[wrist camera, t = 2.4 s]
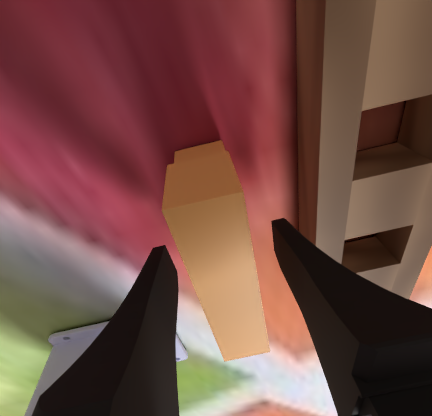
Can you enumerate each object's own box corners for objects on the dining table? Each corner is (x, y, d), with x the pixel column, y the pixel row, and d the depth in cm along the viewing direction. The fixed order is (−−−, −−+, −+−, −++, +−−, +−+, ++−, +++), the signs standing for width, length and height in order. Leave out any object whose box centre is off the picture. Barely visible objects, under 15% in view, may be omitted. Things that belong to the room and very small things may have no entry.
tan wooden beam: (213, 271, 18) (224, 361, 13) (170, 137, 12) (161, 210, 7) (246, 263, 18) (270, 351, 13) (218, 126, 12) (243, 191, 7)
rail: (299, 294, 21) (312, 323, 19) (295, -35, 9) (328, -55, 7) (385, 275, 20) (407, 303, 18) (492, -87, 9) (586, -123, 7)
